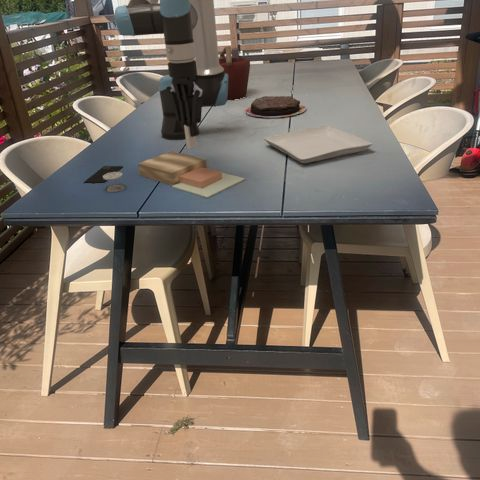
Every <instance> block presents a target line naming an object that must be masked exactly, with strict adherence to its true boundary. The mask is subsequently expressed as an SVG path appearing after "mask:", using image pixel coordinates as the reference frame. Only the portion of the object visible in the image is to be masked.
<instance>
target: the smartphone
mask: <svg viewBox="0 0 480 480" xmlns="http://www.w3.org/2000/svg"><path fill="white" fill-rule="evenodd" d="M123 168H124V166H123V165H122V166H121V165H108V166H107V165H103V166H102V167H101V168H99V169H98V170H97V171H96V172H95V173H93V174H92V175H91V176H89V177H88V178H87V179H86V180H84V181H83V184H85V183H92V184H95V183H104V184H105V182H106V183H107V182H108V181H109V180H104V179H103V176H104V175H105V174H107V173H111V172H120V171H121V170H122V169H123Z"/></svg>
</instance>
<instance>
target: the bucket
mask: <svg viewBox="0 0 480 480" xmlns="http://www.w3.org/2000/svg"><path fill="white" fill-rule="evenodd" d="M232 53H233V52H232V48H231V46H224V48H223V50H222V51H221V52H220V53H219V64H220V66H222V67H223V68H224V74H225V73H226V74H228V95H227V100H231V101H236V100H235V99H239V100H241V99H240V98H242V99H244V98H243V97H245V98H246V97H247V92H248V86H249V85H248V84H249V77H250V70H251V59H249V58H247V57H232Z"/></svg>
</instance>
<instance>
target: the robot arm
mask: <svg viewBox="0 0 480 480" xmlns="http://www.w3.org/2000/svg"><path fill="white" fill-rule="evenodd" d="M214 1H215V0H129V1H128V4H127V5H126V4H123V5H119V6H117V7H115V8H114V9H115V10H114V22H115V26H116V30H117V31H118V33H119V35H121V36H123V37H125V36H127V37H130V36H131V37H136V36H137V37H138V36H146V35H147V36H148V35H163V37H164V46H165V50H166V51H165V53H166V59H167V61H169V62H168V63H167V67H168V74H167V75H163V76H161V77H160V78H159V80H158V88H159V89H158V92H159V96H160V97H159V98H160V103H161V110H162V111H161V112H162V117H163V118H162V123H161V130H160V134H161V138H163V139H165V140H184V139H185V144H186V148H187V149H193V148H195V147H197V146H198V143H197V136H198V135H199V134H200V129H199V126H198V124H200V123H201V122H202V111H203V109H202V108H204V107H205V108H208V107H211V108H212V107H214V108H215V107H221V106H222V107H223V106H225V105H226V104H227V102H228V101H227V95H228V74H226V73H225V74H224V68H223V67H222V66H220V64H219V59H220V55H219V48H218V47H219V46H218V45H219V44H218V37H217V36H218V35H217V26H216V14H215V3H214Z"/></svg>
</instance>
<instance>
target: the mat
mask: <svg viewBox="0 0 480 480" xmlns="http://www.w3.org/2000/svg"><path fill="white" fill-rule="evenodd" d="M245 181H246V178H245V177H240V176H238V175H237V176H236V175H234V174H233V175H232V174H228V173H225V172H222V179H220V180H218V181H216V182H214V183H212V184H210V185H208V186H206V187H204V188H202V189H201V188H198V187H194V186H190V185H187V184H183V183H178V184H175V185H173V186H172V185H171V188H172V189H177V190H180V191H183V192H185V193H188V194H189V193H190V194H192V195H195V196H199V197H202V198H205V199H209V198H211V197H213V196H215V195H217V194H219V193H221V192H224V191H226V190H228V189H230V188H232V187H234V186H236V185H238V184H240V183H242V182H245Z"/></svg>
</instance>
